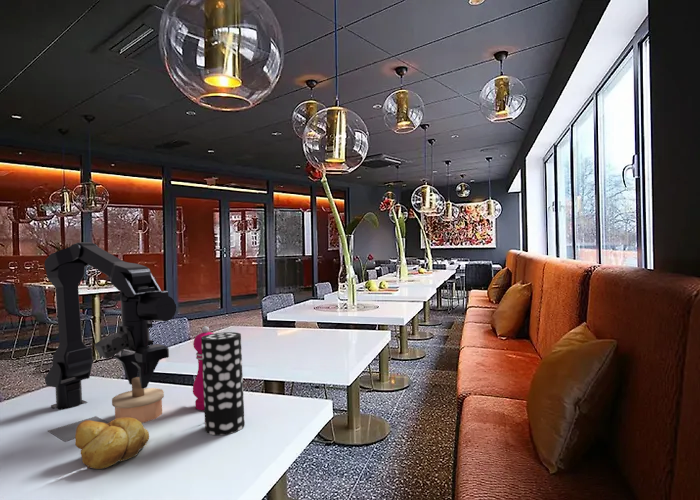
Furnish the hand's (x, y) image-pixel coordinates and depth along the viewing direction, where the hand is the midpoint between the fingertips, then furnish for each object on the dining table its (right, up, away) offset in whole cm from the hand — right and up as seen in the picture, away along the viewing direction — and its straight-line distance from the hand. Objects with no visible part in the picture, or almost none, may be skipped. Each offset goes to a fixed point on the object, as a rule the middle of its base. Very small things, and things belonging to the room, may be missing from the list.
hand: (138, 386), depth 105 cm
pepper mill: (+15, -7, +7) cm, 17 cm away
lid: (0, -3, 0) cm, 3 cm away
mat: (-10, -8, -6) cm, 14 cm away
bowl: (0, -8, 0) cm, 8 cm away
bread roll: (+6, -8, -20) cm, 22 cm away
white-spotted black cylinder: (+23, -7, -7) cm, 25 cm away
